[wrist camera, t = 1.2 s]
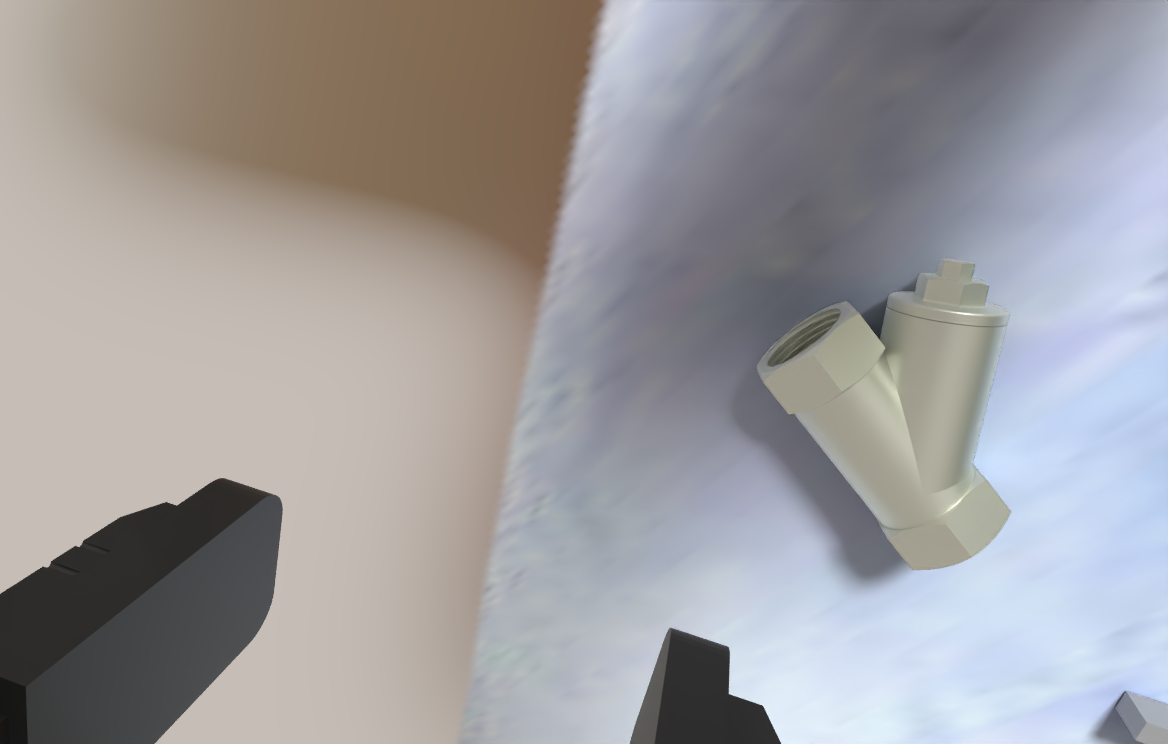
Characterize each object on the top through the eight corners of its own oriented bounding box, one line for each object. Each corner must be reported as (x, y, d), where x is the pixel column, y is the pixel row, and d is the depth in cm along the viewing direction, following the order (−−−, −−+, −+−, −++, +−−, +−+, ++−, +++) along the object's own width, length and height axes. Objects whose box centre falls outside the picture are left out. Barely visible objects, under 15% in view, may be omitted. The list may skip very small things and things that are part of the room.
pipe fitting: (930, 225, 24) (752, 354, 26) (972, 238, 20) (762, 387, 22) (1073, 419, 25) (892, 530, 27) (1139, 465, 21) (923, 590, 23)
